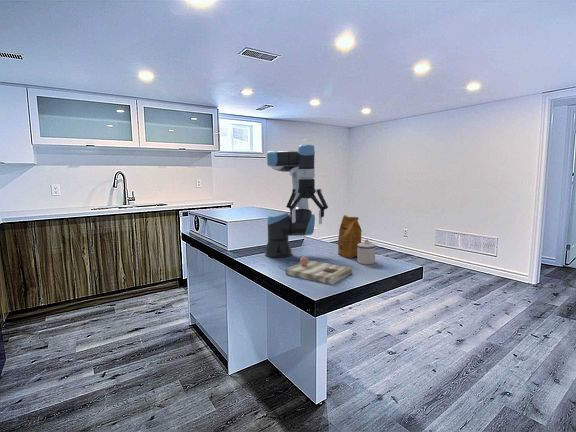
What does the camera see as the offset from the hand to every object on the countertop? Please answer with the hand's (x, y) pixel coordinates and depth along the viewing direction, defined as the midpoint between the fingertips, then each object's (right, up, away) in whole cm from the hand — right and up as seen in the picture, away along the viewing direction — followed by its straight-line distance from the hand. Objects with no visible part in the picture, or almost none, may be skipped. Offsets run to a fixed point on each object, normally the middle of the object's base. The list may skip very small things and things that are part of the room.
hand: (306, 223), depth 152 cm
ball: (-2, -20, -3) cm, 20 cm away
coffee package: (+25, -18, +23) cm, 39 cm away
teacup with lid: (+30, -20, +11) cm, 38 cm away
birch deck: (+5, -23, -8) cm, 25 cm away
